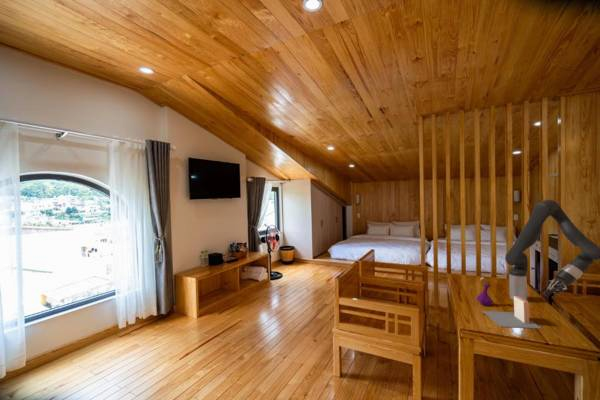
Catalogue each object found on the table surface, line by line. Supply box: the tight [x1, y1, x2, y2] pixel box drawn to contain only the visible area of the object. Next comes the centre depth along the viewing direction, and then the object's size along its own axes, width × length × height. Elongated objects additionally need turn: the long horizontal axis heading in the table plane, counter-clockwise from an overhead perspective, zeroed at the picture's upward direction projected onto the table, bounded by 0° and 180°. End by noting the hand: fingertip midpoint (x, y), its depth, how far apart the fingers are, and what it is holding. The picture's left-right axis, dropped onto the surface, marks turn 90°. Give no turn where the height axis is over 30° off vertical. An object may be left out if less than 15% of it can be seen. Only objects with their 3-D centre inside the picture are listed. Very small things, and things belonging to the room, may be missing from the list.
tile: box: [513, 296, 530, 323], centre depth 152 cm, size 9×2×12 cm, turn 169°
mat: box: [482, 310, 543, 330], centre depth 153 cm, size 20×20×1 cm
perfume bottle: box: [476, 276, 494, 307], centre depth 176 cm, size 8×8×18 cm
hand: (544, 295), depth 150 cm, fingers closed
